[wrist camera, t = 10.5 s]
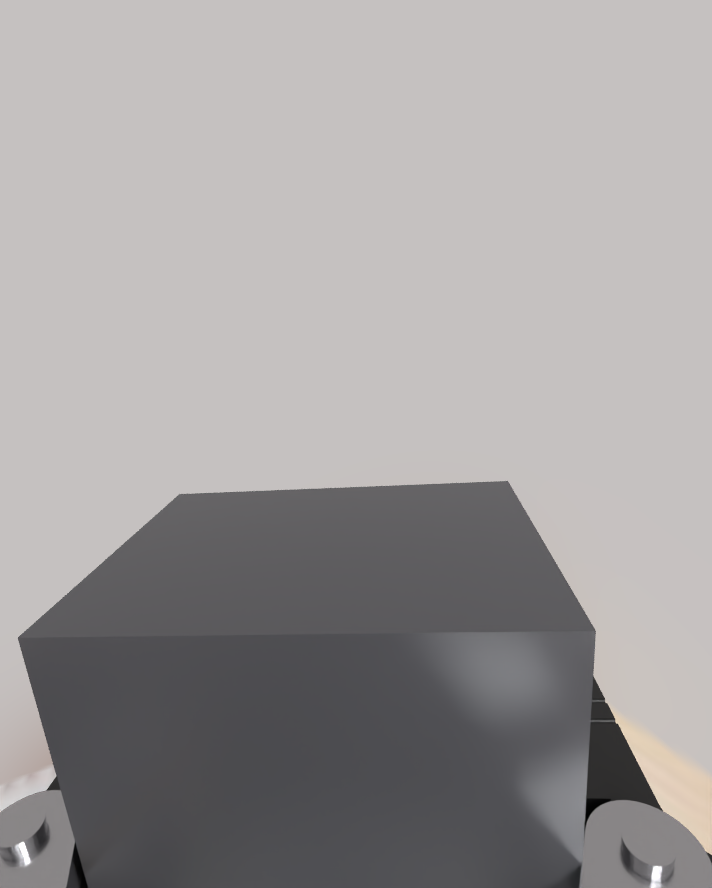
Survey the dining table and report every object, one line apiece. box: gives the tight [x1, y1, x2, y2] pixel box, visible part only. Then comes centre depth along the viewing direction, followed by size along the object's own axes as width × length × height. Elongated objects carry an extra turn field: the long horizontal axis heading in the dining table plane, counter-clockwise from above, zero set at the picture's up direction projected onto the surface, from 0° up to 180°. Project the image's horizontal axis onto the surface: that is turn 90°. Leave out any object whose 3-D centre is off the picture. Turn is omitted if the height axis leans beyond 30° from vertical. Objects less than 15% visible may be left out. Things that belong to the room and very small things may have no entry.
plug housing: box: [18, 481, 596, 888], centre depth 8 cm, size 6×4×10 cm
